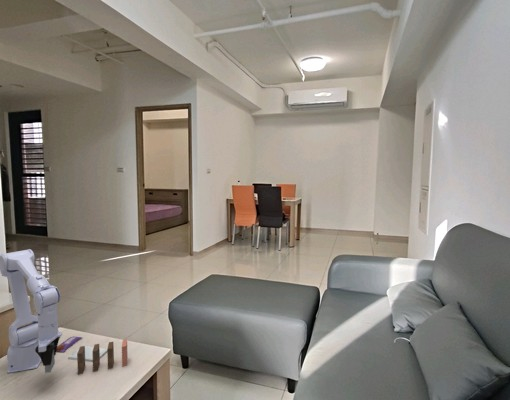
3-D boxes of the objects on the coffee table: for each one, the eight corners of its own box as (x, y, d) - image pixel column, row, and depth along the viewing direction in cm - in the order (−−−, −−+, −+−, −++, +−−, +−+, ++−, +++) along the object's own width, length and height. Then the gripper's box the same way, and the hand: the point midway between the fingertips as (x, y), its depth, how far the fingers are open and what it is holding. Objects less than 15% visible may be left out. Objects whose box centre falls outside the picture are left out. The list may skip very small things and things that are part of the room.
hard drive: (67, 356, 121) (96, 359, 120) (82, 345, 130) (109, 347, 128) (68, 360, 122) (96, 363, 120) (82, 349, 130) (109, 351, 128)
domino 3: (93, 371, 114) (92, 351, 113) (95, 364, 119) (94, 344, 118) (97, 371, 114) (97, 350, 114) (99, 363, 119) (99, 343, 118)
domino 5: (122, 366, 117) (121, 346, 117) (123, 359, 122) (122, 340, 121) (126, 365, 118) (126, 346, 117) (127, 358, 122) (127, 339, 122)
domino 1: (45, 372, 105) (44, 350, 104) (49, 364, 110) (48, 343, 109) (50, 372, 106) (49, 350, 105) (54, 363, 110) (53, 342, 110)
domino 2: (77, 374, 112) (77, 353, 112) (80, 366, 117) (80, 346, 116) (82, 373, 113) (82, 353, 112) (85, 365, 118) (84, 345, 117)
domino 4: (107, 369, 116) (107, 349, 115) (109, 361, 120) (108, 342, 120) (112, 368, 116) (111, 348, 115) (113, 360, 121) (113, 341, 120)
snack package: (72, 334, 138) (82, 335, 137) (72, 338, 138) (82, 339, 137) (52, 348, 126) (63, 349, 126) (52, 353, 126) (63, 354, 126)
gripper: (55, 331, 101) (57, 370, 102) (66, 312, 114) (67, 347, 116) (30, 334, 99) (32, 374, 100) (44, 315, 112) (46, 350, 113)
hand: (49, 360), depth 108 cm, fingers closed on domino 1, 5 cm apart
